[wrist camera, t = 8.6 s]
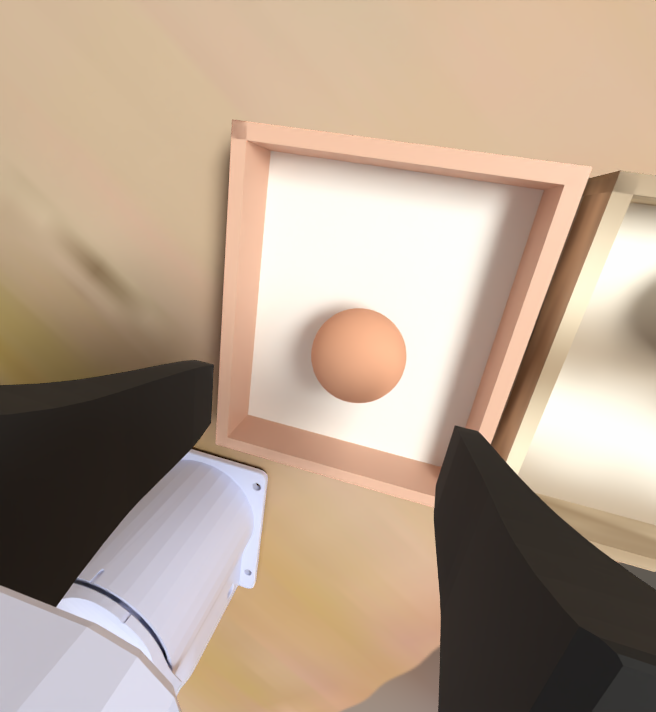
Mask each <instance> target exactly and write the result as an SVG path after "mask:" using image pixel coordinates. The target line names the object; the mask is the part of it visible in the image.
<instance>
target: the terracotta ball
mask: <svg viewBox="0 0 656 712" xmlns="http://www.w3.org/2000/svg"><path fill="white" fill-rule="evenodd" d="M406 355H407V354H406V346H405V342H404V339H403V337H402V334H401V333H400V331H399V329H398V328H397V327H396V325H395V324H394V323H393V322H392V321H391V320H390V319H388V318H387V317H386V316H384V315H382V314H381V313H379V312H376V311H374V310H370V309H364V308H354V309H348V310H344V311H341V312H339V313H337V314H335V315H333V316H332V317H331V318H329V319H328V320H327V321H326V322H325V323H324V324H323V325H322V326H321V328H320V329H319V330H318V332H317V334H316V336H315V338H314V341H313V345H312V350H311V361H312V367H313V370H314V373H315V376H316V378H317V379H318V381H319V383H320V384H321V385H322V386H323V388H324V389H325V390H326V391H327V392H329V393H330V394H331V395H333V396H334V397H336V398H338V399H340V400H343V401H346V402H351V403H367V402H372V401H375V400H377V399H379V398H382V397H383V396H385V395H386V394H388V393H389V392H390V391H391V390H392V389H393V388H394V387H395V386H396V385H397V383H398V382H399V380H400V379H401V377H402V375H403V372H404V369H405V365H406Z"/></svg>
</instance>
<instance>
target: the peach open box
mask: <svg viewBox="0 0 656 712" xmlns="http://www.w3.org/2000/svg"><path fill="white" fill-rule="evenodd" d="M591 170H592V167H590V166H582V165H575V164H567V163H560V162H552V161H544V160H537V159H529V158H522V157H514V156H506V155H499V154H491V153H484V152H476V151H468V150H461V149H453V148H446V147H438V146H430V145H423V144H415V143H407V142H400V141H392V140H385V139H377V138H369V137H362V136H354V135H347V134H339V133H331V132H324V131H316V130H309V129H301V128H293V127H286V126H278V125H270V124H263V123H255V122H248V121H240V120H232V132H231V151H230V171H229V191H228V210H227V230H226V249H225V269H224V288H223V308H222V327H221V347H220V366H219V386H218V405H217V425H216V445H220V446H223V447H227V448H230V449H233V450H237V451H240V452H244V453H247V454H251V455H254V456H258V457H261V458H264V459H268V460H271V461H275V462H278V463H282V464H285V465H289V466H292V467H295V468H299V469H302V470H306V471H309V472H313V473H316V474H320V475H323V476H326V477H330V478H333V479H337V480H340V481H344V482H347V483H350V484H354V485H357V486H361V487H364V488H368V489H371V490H375V491H378V492H381V493H385V494H388V495H392V496H395V497H399V498H402V499H406V500H409V501H412V502H416V503H419V504H423V505H426V506H430V507H433V508H434V504H435V488H436V483H437V480H438V477H439V474H440V470H441V467H442V464H443V461H444V458H445V455H446V452H447V448H448V445H449V442H450V439H451V436H452V433H453V430H454V426H455V425H456V426H460V427H464V428H468V429H472V430H476V431H478V432H479V433H481V434H482V435H483V437H484V438H485V439H486V440H487V441H488V442H489V443H490V444H491V442H492V440H493V437H494V434H495V431H496V429H497V426H498V423H499V420H500V418H501V415H502V412H503V410H504V407H505V404H506V401H507V399H508V396H509V393H510V390H511V388H512V385H513V382H514V380H515V377H516V374H517V371H518V369H519V366H520V363H521V361H522V358H523V355H524V352H525V350H526V347H527V344H528V341H529V339H530V336H531V333H532V331H533V328H534V325H535V322H536V320H537V317H538V314H539V311H540V309H541V306H542V303H543V301H544V298H545V295H546V292H547V290H548V287H549V284H550V282H551V279H552V276H553V273H554V271H555V268H556V265H557V262H558V260H559V257H560V254H561V252H562V249H563V246H564V243H565V241H566V238H567V235H568V233H569V230H570V227H571V224H572V222H573V219H574V216H575V213H576V211H577V208H578V205H579V203H580V200H581V197H582V194H583V192H584V189H585V186H586V183H587V181H588V178H589V175H590V173H591ZM354 308H364V309H370V310H374V311H376V312H379V313H381V314H382V315H384V316H386V317H387V318H388V319H390V320H391V321H392V322H393V323H394V324H395V325H396V327H397V328H398V329H399V331H400V333H401V334H402V337H403V339H404V342H405V346H406V354H407V355H406V365H405V369H404V372H403V375H402V377H401V379H400V380H399V382H398V383H397V385H396V386H395V387H394V388H393V389H392V390H391V391H390V392H389V393H388V394H386V395H385V396H383V397H382V398H379V399H377V400H375V401H372V402H367V403H351V402H346V401H343V400H340V399H338V398H336V397H334V396H333V395H331V394H330V393H329V392H327V391H326V390H325V389H324V388H323V386H322V385H321V384H320V383H319V381H318V379H317V378H316V376H315V373H314V370H313V367H312V361H311V350H312V345H313V341H314V338H315V336H316V334H317V332H318V330H319V329H320V328H321V326H322V325H323V324H324V323H325V322H326V321H327V320H328V319H329V318H331V317H332V316H333V315H335V314H337V313H339V312H341V311H344V310H348V309H354Z"/></svg>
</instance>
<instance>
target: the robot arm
mask: <svg viewBox="0 0 656 712" xmlns="http://www.w3.org/2000/svg"><path fill="white" fill-rule="evenodd" d="M213 368H214V365H213V364H209V363H205V362H201V361H197V360H190V361H181V362H175V363H169V364H164V365H159V366H153V367H148V368H143V369H138V370H133V371H128V372H122V373H116V374H111V375H105V376H99V377H93V378H86V379H79V380H71V381H61V382H51V383H40V384H20V385H0V712H182V711H181V708H180V705H179V702H178V699H177V694H178V692H179V691H180V689H181V687H182V686H183V685H184V684H185V683H186V682H187V680H188V679H189V678H190V676H191V674H192V673H193V671H194V669H195V667H196V666H197V664H198V662H199V660H200V658H201V656H202V654H203V652H204V650H205V648H206V646H207V644H208V642H209V640H210V639H211V637H212V635H213V633H214V631H215V629H216V627H217V625H218V623H219V621H220V619H221V617H222V615H223V613H224V612H225V610H226V608H227V606H228V604H229V602H230V600H231V598H232V596H233V594H234V592H235V590H236V588H237V586H238V585H239V586H242V587H245V588H252V587H254V584H255V582H256V577H257V568H258V559H259V551H260V542H261V533H262V525H263V516H264V508H265V499H266V490H267V482H268V476H267V474H266V473H265V472H264V471H263V470H260V469H257V468H254V467H250V466H247V465H244V464H240V463H237V462H233V461H230V460H227V459H223V458H220V457H217V456H213V455H210V454H206V453H203V452H200V451H196V450H193V449H192V448H193V447H194V445H195V444H196V443H197V441H198V440H199V439H200V437H201V436H202V435H203V433H204V432H205V430H206V429H207V428H208V426H209V425H210V423H211V411H212V390H213ZM256 483H257V484H259V485H260V486H258V485H257V484H256ZM434 528H435V541H436V554H437V566H438V578H439V591H440V608H441V638H440V677H439V678H440V679H439V707H438V708H439V709H438V712H656V590H655V589H654V588H652V587H651V586H649V585H648V584H646V583H645V582H643V581H642V580H641V579H639V578H638V577H636V576H635V575H633V574H632V573H631V572H629V571H628V570H626V569H625V568H624V567H623V566H621V565H620V564H618V563H617V562H616V561H614V560H613V559H612V558H610V557H609V556H608V555H606V554H605V553H603V552H602V551H601V550H600V549H598V548H597V547H596V546H594V545H593V544H592V543H591V542H589V541H588V540H587V539H586V538H584V537H583V536H582V535H581V534H580V533H579V532H577V531H576V530H575V529H574V528H573V527H571V526H570V525H569V524H568V523H567V522H566V521H564V520H563V519H562V518H561V517H560V516H559V515H558V514H556V513H555V512H554V511H553V510H552V509H551V508H550V507H549V506H548V505H547V504H546V503H545V502H544V501H543V500H542V499H541V498H540V497H539V496H538V495H537V494H536V493H535V492H533V491H532V490H531V489H530V488H529V486H528V485H527V484H526V483H525V482H524V481H523V480H522V479H521V478H520V477H519V476H518V475H517V474H516V473H515V472H514V471H513V469H512V468H511V467H510V466H509V465H508V464H507V463H506V462H505V460H504V459H503V458H502V457H501V456H500V455H499V454H498V452H497V451H496V450H495V449H494V448H493V447H492V446H491V444H490V443H489V442H488V441H487V440H486V439H485V438H484V437H483V435H482V434H481V433H479V432H478V431H476V430H472V429H468V428H464V427H460V426H456V425H455V426H454V430H453V433H452V436H451V439H450V442H449V445H448V448H447V452H446V455H445V458H444V461H443V464H442V467H441V470H440V474H439V477H438V480H437V483H436V488H435V504H434Z"/></svg>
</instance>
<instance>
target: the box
mask: <svg viewBox="0 0 656 712" xmlns="http://www.w3.org/2000/svg"><path fill="white" fill-rule="evenodd" d="M491 446H492V447H493V448H494V449H495V450H496V451H497V452H498V454H499V455H500V456H501V457H502V458H503V459H504V460H505V462H506V463H507V464H508V465H509V466H510V467H511V468H512V469H513V471H514V472H515V473H516V474H517V475H518V476H519V477H520V478H521V479H522V480H523V481H524V482H525V483H526V484H527V485H528V486H529V488H530V489H531V490H532V491H533V492H535V493H536V494H537V495H538V496H539V497H540V498H541V499H542V500H543V501H544V502H545V503H546V504H547V505H548V506H549V507H550V508H551V509H552V510H553V511H554V512H555V513H556V514H558V515H559V516H560V517H561V518H562V519H563V520H564V521H566V522H567V523H568V524H569V525H570V526H571V527H573V528H574V529H575V530H576V531H577V532H579V533H580V534H581V535H582V536H583V537H584V538H586V539H587V540H588V541H589V542H591V543H592V544H593V545H594V546H596V547H597V548H598V549H600V550H601V551H602V552H603V553H605V554H606V555H608V556H609V557H610V558H612V559H613V560H615V561H619V562H622V563H626V564H629V565H633V566H636V567H640V568H643V569H646V570H650V571H654V572H656V175H651V174H643V173H636V172H628V171H617V172H613V173H609V174H605V175H601V176H597V177H593V178H589V179H588V181H587V183H586V186H585V189H584V192H583V194H582V197H581V200H580V203H579V205H578V208H577V211H576V213H575V216H574V219H573V222H572V224H571V227H570V230H569V233H568V235H567V238H566V241H565V243H564V246H563V249H562V252H561V254H560V257H559V260H558V262H557V265H556V268H555V271H554V273H553V276H552V279H551V282H550V284H549V287H548V290H547V292H546V295H545V298H544V301H543V303H542V306H541V309H540V311H539V314H538V317H537V320H536V322H535V325H534V328H533V331H532V333H531V336H530V339H529V341H528V344H527V347H526V350H525V352H524V355H523V358H522V361H521V363H520V366H519V369H518V371H517V374H516V377H515V380H514V382H513V385H512V388H511V390H510V393H509V396H508V399H507V401H506V404H505V407H504V410H503V412H502V415H501V418H500V420H499V423H498V426H497V429H496V431H495V434H494V437H493V440H492V442H491Z"/></svg>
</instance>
